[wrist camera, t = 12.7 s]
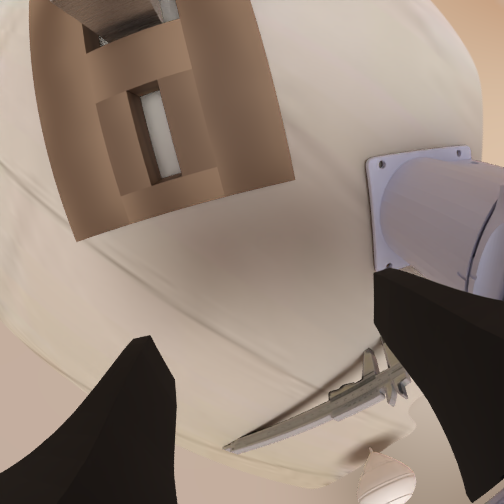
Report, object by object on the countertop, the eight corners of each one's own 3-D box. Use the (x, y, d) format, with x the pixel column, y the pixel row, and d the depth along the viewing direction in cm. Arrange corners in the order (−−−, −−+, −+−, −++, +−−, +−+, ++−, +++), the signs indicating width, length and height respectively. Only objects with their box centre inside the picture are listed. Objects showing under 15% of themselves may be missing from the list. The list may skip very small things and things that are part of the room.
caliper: (382, 331, 22) (418, 381, 16) (388, 336, 23) (423, 386, 17) (222, 445, 26) (225, 494, 21) (229, 448, 27) (233, 496, 21)
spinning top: (337, 465, 32) (359, 533, 20) (350, 440, 29) (380, 519, 18) (385, 452, 32) (411, 513, 21) (402, 425, 29) (438, 494, 18)
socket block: (223, -53, 10) (224, -73, 8) (284, 173, 16) (295, 179, 14) (47, 11, 10) (29, 0, 8) (93, 227, 16) (76, 241, 14)
